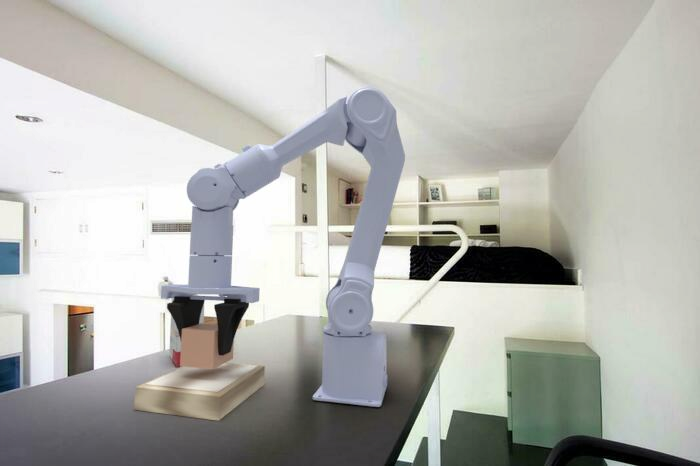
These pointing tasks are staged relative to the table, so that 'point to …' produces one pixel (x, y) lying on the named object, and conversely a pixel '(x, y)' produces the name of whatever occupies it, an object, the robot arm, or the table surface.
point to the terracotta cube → (202, 347)
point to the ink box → (178, 339)
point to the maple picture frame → (200, 390)
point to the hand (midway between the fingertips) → (207, 352)
